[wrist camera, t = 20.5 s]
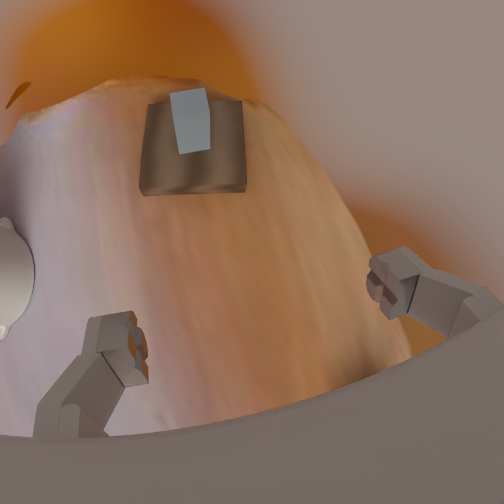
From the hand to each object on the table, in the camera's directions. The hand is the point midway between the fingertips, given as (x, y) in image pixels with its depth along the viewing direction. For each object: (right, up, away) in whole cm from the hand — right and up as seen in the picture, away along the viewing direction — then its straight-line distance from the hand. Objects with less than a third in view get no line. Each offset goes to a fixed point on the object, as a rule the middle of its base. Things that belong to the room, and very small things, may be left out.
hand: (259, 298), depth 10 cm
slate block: (-8, +17, +30) cm, 35 cm away
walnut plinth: (-9, +16, +33) cm, 38 cm away
